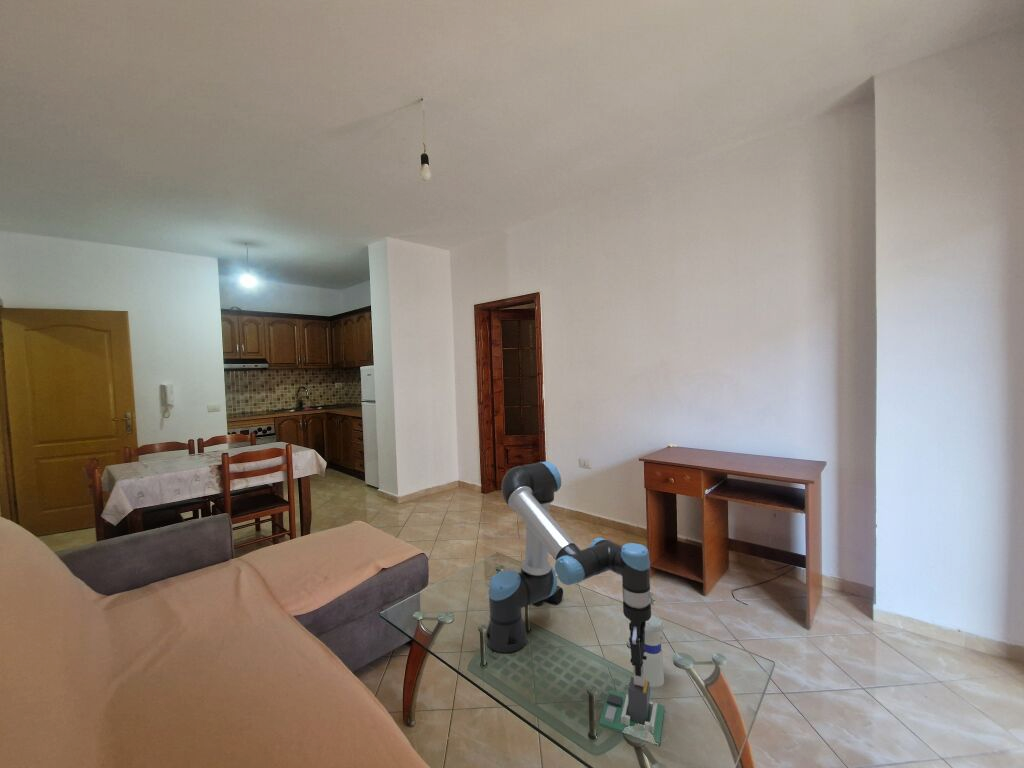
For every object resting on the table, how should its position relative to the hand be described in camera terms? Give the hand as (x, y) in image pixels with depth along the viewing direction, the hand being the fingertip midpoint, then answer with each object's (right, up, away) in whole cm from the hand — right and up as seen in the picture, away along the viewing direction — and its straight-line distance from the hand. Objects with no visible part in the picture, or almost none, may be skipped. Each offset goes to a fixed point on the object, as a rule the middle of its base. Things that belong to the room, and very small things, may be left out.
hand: (639, 683), depth 117 cm
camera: (-20, -10, +63) cm, 67 cm away
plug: (0, -10, +1) cm, 10 cm away
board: (-2, -11, +1) cm, 11 cm away
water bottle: (+9, -10, +16) cm, 21 cm away
